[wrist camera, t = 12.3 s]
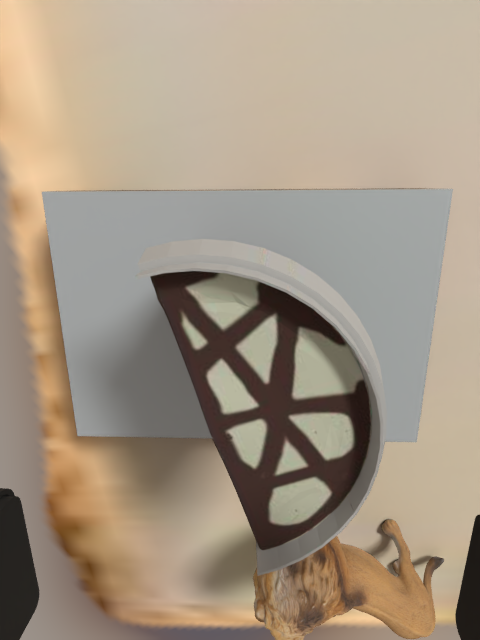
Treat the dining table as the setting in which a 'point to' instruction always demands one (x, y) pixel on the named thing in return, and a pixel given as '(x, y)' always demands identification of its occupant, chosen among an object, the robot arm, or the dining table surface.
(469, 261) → the dining table surface
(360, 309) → the pedestal
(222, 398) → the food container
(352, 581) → the lion figurine
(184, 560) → the dining table surface
